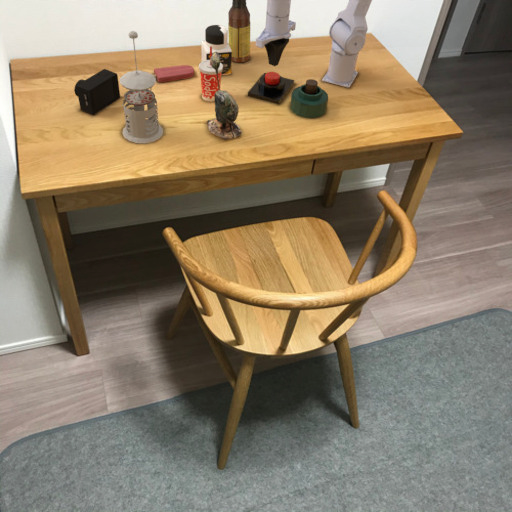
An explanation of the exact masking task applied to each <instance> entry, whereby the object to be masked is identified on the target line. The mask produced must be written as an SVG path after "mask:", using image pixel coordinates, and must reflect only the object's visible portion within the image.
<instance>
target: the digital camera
mask: <svg viewBox="0 0 512 512" xmlns="http://www.w3.org/2000/svg"><path fill="white" fill-rule="evenodd" d="M119 83H120V82H119V76H118V73H117V72H114V71H111V70H109V69H106V68H103V69H101V70H100V71H98V72H96V73H95V74H92V75H91V76H90V77H88V78H86V79H82V78H81V79H79V80H78V81H76V83H75V85H74V90H73V91H74V95H75V96H76V97H77V98H78V103H79V108H80V111H82V112H83V113H86V114H89V115H91V116H95V115H97V114H98V113H100V112H101V111H103V110H104V109H105V108H107V107H108V106H110V105H112V104H113V103H114V102H115V103H116V102H117V101H118V100H119V99H121V92H120V84H119Z"/></svg>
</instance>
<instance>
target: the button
mask: <svg viewBox="0 0 512 512" xmlns="http://www.w3.org/2000/svg"><path fill="white" fill-rule="evenodd" d="M265 73H266V74H265V82H266V83H267V84H271V85H276V84H279V82H280V76H281V75H280V73H278V72H277V71H267V72H265Z"/></svg>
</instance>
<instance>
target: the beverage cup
mask: <svg viewBox="0 0 512 512" xmlns="http://www.w3.org/2000/svg"><path fill="white" fill-rule="evenodd" d="M211 56H212V47H211V46H210V57H211ZM210 60H211V59H210ZM210 60H205V61H202V60H201V61H200V62H199V64H198V70H199V73H200V82H201V83H200V87H201V98H202V99H203V101H206V102H212V103H213V102H215V99H214V98H215V96H214V95H215V93H216V92H217V91H218V90H219V89H220V90H221V83H222V75H221V73H222V70H223V65H222V64H221V63H220V67H219V68H218V80H219V89H218V81H217V76H216V70H215V69H214V68H213V67H212V66H211V64H210Z"/></svg>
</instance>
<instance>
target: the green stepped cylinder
mask: <svg viewBox="0 0 512 512" xmlns="http://www.w3.org/2000/svg"><path fill="white" fill-rule="evenodd" d="M305 87H306V83H304V84H302V85H299V86H296V87H295V88H294V89H292V91H291V95H290V107H289V108H290V111H291V112H292V113H293V114H295V115H296V116H298V117H300V118H305V119H315V118H316V119H317V118H320V117H322V116H324V115H325V114H326V112H327V108H328V102H329V94H328V93H327V92H326V91H325V89H323V88H321V86H319V85H318V86H317V92H316V95H309V94H305Z"/></svg>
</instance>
